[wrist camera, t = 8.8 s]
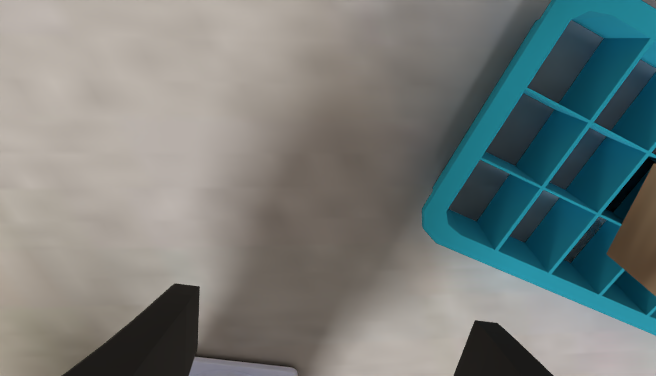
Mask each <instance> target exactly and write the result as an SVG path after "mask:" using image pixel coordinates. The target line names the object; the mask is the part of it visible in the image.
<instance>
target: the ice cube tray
mask: <svg viewBox="0 0 656 376" xmlns="http://www.w3.org/2000/svg"><path fill="white" fill-rule="evenodd" d="M571 20H572V21H574V22H576V23H578V24H580V25H581V26H583V27H585V28H587V29H588V30H590V31H592V32H594V33H595V34H597V35H599V36H601V37H602V38H604V39H603V40H602V42H601V43H600V45H599V46H598V47H597V49H596V50H595V52H594V53H593V55H592V56H591V57H590V59H589V60H588V62H587V63H586V65H585V66H584V68H583V69H582V70H581V72H580V73H579V75H578V76H577V78H576V79H575V81H574V82H573V83H572V85H571V86H570V88H569V89H568V91H567V92H566V94H565V95H564V96H563V98H562V99H561V101H560V102H559V104H558V103H556V102H554V101H552V100H550V99H548V98H546V97H545V96H543V95H541V94H539V93H537V92H535V91H533V90H531V89H529V88H527V87H528V85H529V84H530V82H531V81H532V79H533V78H534V76H535V75H536V73H537V71H538V70H539V68H540V67H541V65H542V64H543V62H544V61H545V59H546V58H547V56H548V55H549V53H550V51H551V50H552V48H553V47H554V45H555V44H556V42H557V41H558V39H559V38H560V36H561V35H562V33H563V32H564V30H565V28H566V27H567V25H568V24H569V22H570V21H571ZM640 59H641V60H642V61H644V62H646V63H648V64H649V65H651V66H653V67H655V68H656V9H655V8H653V7H652V6H650V5H648V4H647V3H645V2H643V1H642V0H551V2H550V4H549V5H548V7H547V8H546V10H545V12H544V13H543V15H542V16H541V18H540V19H539V20H537V21H535V23H534V25H533V26H532V28H531V30H530V31H529V33H528V34H527V36H526V38H525V39H524V41H523V42H522V44H521V46H520V47H519V49H518V51H517V52H516V54H515V55H514V57H513V59H512V60H511V62H510V63H509V65H508V67H507V68H506V70H505V72H504V73H503V75H502V76H501V78H500V80H499V81H498V83H497V84H496V86H495V88H494V89H493V91H492V92H491V94H490V96H489V97H488V99H487V101H486V102H485V104H484V105H483V107H482V109H481V110H480V112H479V113H478V115H477V117H476V118H475V120H474V122H473V123H472V125H471V126H470V128H469V130H468V131H467V133H466V134H465V136H464V138H463V139H462V141H461V143H460V144H459V146H458V147H457V149H456V151H455V152H454V154H453V155H452V157H451V159H450V160H449V162H448V163H447V165H446V167H445V168H444V170H443V172H442V173H441V175H440V176H439V178H438V180H437V181H436V183H435V184H434V186H433V192H432V193H431V195H430V196H429V198H428V200H427V201H426V203H425V204H424V206H423V208H422V227H423V229H424V230H425V231H426V232H427V233H428V235H429V236H430V237H431V238H432V239H433V240H434V241H435V242H436V243H437V244H439V245H442V246H444V247H447V248H449V249H451V250H454V251H456V252H458V253H461V254H463V255H466V256H468V257H470V258H473V259H475V260H477V261H480V262H482V263H485V264H487V265H489V266H492V267H494V268H496V269H499V270H501V271H504V272H506V273H508V274H511V275H513V276H515V277H518V278H520V279H523V280H525V281H527V282H530V283H532V284H534V285H537V286H539V287H542V288H544V289H546V290H549V291H551V292H554V293H556V294H558V295H561V296H563V297H565V298H568V299H570V300H573V301H575V302H577V303H580V304H582V305H584V306H587V307H589V308H592V309H594V310H596V311H599V312H601V313H603V314H606V315H608V316H611V317H613V318H615V319H618V320H620V321H622V322H625V323H627V324H630V325H632V326H634V327H637V328H639V329H641V330H644V331H646V332H649V333H651V334H653V335H656V296H655V295H654V294H652V293H651V292H650V291H649V290H648V289H647V288H645V287H644V286H643V285H642V284H641V283H640V282H638V281H637V280H636V279H635V278H634V277H632V276H631V275H630V274H629V273H628V272H627V271H625V270H624V269H623V268H622V267H621V266H620V265H618V264H617V263H616V262H615V261H614V260H612V259H611V258H610V257H609V256H608V255H607V254H606V253H607V251H608V250H609V248H610V246H611V244H612V242H613V240H614V238H615V236H616V234H617V232H618V231H619V229H620V227H621V225H622V223H623V221H624V219H625V217H626V215H627V213H628V211H629V210H630V208H631V206H632V204H633V202H634V200H635V198H636V196H637V194H638V192H639V191H640V189H641V187H642V185H643V183H644V181H645V179H646V177H647V175H648V173H649V172H650V170H651V168H652V167H651V168H650V169H649V170H648V172H647V173H646V174H645V175H644V176H643V178H642V179H641V180H640V181H639V182H638V183H637V185H636V186H635V187H634V188H633V189H632V191H631V192H630V193H629V194H628V195H627V197H626V198H625V199H624V200H623V201H622V203H621V204H620V205H619V206H618V207H617V209H616V210H615V211H614V212H610V211H608V210H606V207H607V206H608V205H609V204H610V202H611V201H612V200H613V199H614V198H615V196H616V195H617V194H618V193H619V192H620V190H621V189H622V188H623V187H624V186H625V184H626V183H627V182H628V181H629V179H630V178H631V177H632V176H633V175H634V173H635V172H636V171H637V170H638V169H639V167H640V166H641V165H642V164H643V163H644V161H645V160H646V159H647V158H649V159H651V160H653V161H654V162H655V164H656V155H655V154H653V153H652V152H653V150H654V149H655V148H656V72H655V74H654V75H653V76H652V78H651V79H650V80H649V81H648V83H647V84H646V85H645V87H644V88H643V89H642V91H641V92H640V93H639V95H638V96H637V97H636V98H635V100H634V101H633V102H632V104H631V105H630V106H629V108H628V109H627V110H626V112H625V113H624V114H623V115H622V117H621V118H620V119H619V121H618V122H617V123H616V125H615V126H614V127H613V128H612V130H611V131H609V130H607V129H606V128H604V127H602V126H600V125H598V124H596V123H594V121H595V120H596V118H597V117H598V116H599V114H600V113H601V112H602V110H603V109H604V108H605V106H606V105H607V104H608V102H609V101H610V100H611V98H612V97H613V95H614V94H615V93H616V91H617V90H618V89H619V87H620V86H621V85H622V83H623V82H624V81H625V79H626V78H627V77H628V75H629V74H630V73H631V71H632V70H633V69H634V67H635V66H636V64H637V63H638V62H639V60H640ZM523 93H524V94H526V95H528V96H530V97H532V98H534V99H535V100H537V101H539V102H541V103H543V104H545V105H547V106H549V107H551V108H553V109H554V111H553V112H552V114H551V115H550V117H549V118H548V120H547V121H546V122H545V124H544V125H543V127H542V128H541V130H540V131H539V133H538V134H537V135H536V137H535V138H534V140H533V141H532V143H531V144H530V146H529V147H528V148H527V150H526V151H525V153H524V154H523V156H522V157H521V159H520V160H519V161H518V163H517V164H516V166H515V165H513V164H510V163H508V162H506V161H504V160H502V159H500V158H498V157H496V156H494V155H492V154H490V153H488V152H485V151H486V150H487V148H488V147H489V145H490V144H491V142H492V140H493V139H494V137H495V136H496V134H497V133H498V131H499V130H500V128H501V127H502V125H503V124H504V122H505V121H506V119H507V117H508V116H509V114H510V113H511V111H512V110H513V108H514V107H515V105H516V104H517V102H518V101H519V99H520V98H521V96H522V94H523ZM589 128H591V129H593V130H595V131H597V132H599V133H601V134H603V135H605V136H606V138H605V139H604V140H603V142H602V143H601V144H600V145H599V147H598V148H597V149H596V151H595V152H594V153H593V155H592V156H591V157H590V159H589V160H588V161H587V162H586V164H585V165H584V166H583V168H582V169H581V170H580V172H579V173H578V174H577V176H576V177H575V178H574V179H573V181H572V182H571V183H570V185H569V186H568V187H567V189H566V190H565V189H563V188H560V187H558V186H556V185H554V184H552V183H550V180H551V179H552V178H553V176H554V175H555V174H556V172H557V171H558V170H559V168H560V167H561V166H562V164H563V163H564V162H565V160H566V159H567V157H568V156H569V155H570V153H571V152H572V151H573V149H574V148H575V147H576V145H577V144H578V143H579V141H580V140H581V139H582V137H583V136H584V135H585V133H586V132H587V131H588V129H589ZM479 160H482V161H484V162H486V163H488V164H490V165H492V166H494V167H496V168H499V169H501V170H503V171H505V172H507V173H509V176H508V177H507V179H506V180H505V182H504V183H503V185H502V186H501V187H500V189H499V190H498V192H497V193H496V195H495V196H494V198H493V199H492V200H491V202H490V203H489V205H488V206H487V208H486V209H485V210H484V212H483V213H482V215H481V216H480V218H479V219H478V221H474V220H472V219H470V218H468V217H465V216H463V215H461V214H459V213H456V212H454V211H452V210H450V209H448V208H449V206H450V205H451V203H452V202H453V200H454V199H455V197H456V196H457V194H458V193H459V191H460V190H461V188H462V187H463V185H464V183H465V182H466V180H467V179H468V177H469V176H470V174H471V173H472V171H473V170H474V168H475V167H476V165H477V164H478V162H479ZM543 190H545V191H547V192H549V193H551V194H553V195H555V196H558V197H560V198H559V199H558V200H557V202H556V203H555V204H554V206H553V207H552V208H551V210H550V211H549V212H548V213H547V215H546V216H545V217H544V219H543V220H542V221H541V223H540V224H539V225H538V227H537V228H536V229H535V230H534V232H533V233H532V234H531V236H530V237H529V238H528V240H527V241H526V242H525V243H524V242H522V241H520V240H517V239H515V238H513V237H511V236H510V234H511V233H512V232H513V230H514V229H515V228H516V226H517V225H518V224H519V222H520V221H521V220H522V218H523V217H524V215H525V214H526V213H527V211H528V210H529V209H530V207H531V206H532V205H533V203H534V202H535V201H536V199H537V198H538V197H539V195H540V194H541V193H542V191H543ZM599 216H600V217H602V218H604V219H606V220H607V221H606V222H605V223H604V224H603V225H602V226H601V228H600V229H599V230H598V231H597V232H596V234H595V235H594V236H593V237H592V238H591V240H590V241H589V242H588V243H587V244H586V246H585V247H584V248H583V249H582V250H581V252H580V253H579V254H578V255H577V256H576V258H575V259H574V260H573V261H572V262H571V263H570V262H567V261H565V260H563V259H564V258H565V257H566V256H567V255H568V253H569V252H570V251H571V250H572V248H573V247H574V246H575V245H576V244H577V242H578V241H579V240H580V239H581V238H582V236H583V235H584V234H585V233H586V232H587V230H588V229H589V228H590V227H591V225H592V224H593V223H594V222H595V221H596V219H597V218H598V217H599ZM622 273H623V274H622ZM621 274H622V275H621ZM620 275H621V276H620ZM619 276H620V277H619ZM618 277H619V278H618ZM617 278H618V279H617Z"/></svg>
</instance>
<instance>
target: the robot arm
mask: <svg viewBox="0 0 656 376" xmlns="http://www.w3.org/2000/svg"><path fill="white" fill-rule="evenodd" d="M199 289H200V287H199V286H191V285H183V284H174V285H172V286H171V287H170V288H169V289H168V290H166V291H165V292H164V293H163V294H162V295H161V296H160V297H159V298H157V299H156V300H155V301H154V302H153V303H152V304H151V305H150V306H148V307H147V308H146V309H145V310H144V311H143V312H142V313H140V314H139V315H138V316H137V317H136V318H135V319H134V320H132V321H131V322H130V323H129V324H128V325H126V326H125V327H124V328H123V329H121V330H120V331H119V332H118V333H117V334H115V335H114V336H113V337H112V338H111V339H109V340H108V341H107V342H106V343H104V344H103V345H102V346H101V347H99V348H98V349H97V350H95V351H94V352H93V353H91V354H90V355H89V356H87V357H86V358H85V359H83V360H82V361H81V362H80V363H78V364H77V365H76V366H74V367H73V368H72V369H70V370H69V371H68V372H66V373H65V374H63V375H62V376H298V373H297V371H296V369H294V368H291V367H284V366H274V365H265V364H256V363H247V362H238V361H229V360H220V359H211V358H202V357H195V354H196V351H197V345H198V317H199ZM454 376H553V375H552V374H551V373H550V372H549V371H548V370H547V369H546V368H545V367H544V366H543V365H542V364H541V363H540V362H539V361H538V360H537V359H536V358H534V357H533V356H532V355H531V354H530V353H529V352H528V351H527V350H526V349H525V348H524V347H523V346H522V345H521V344H520V343H519V342H518V341H517V340H516V339H515V338H513V337H512V336H511V335H510V334H509V333H508V332H507V331H506V330H505V329H504V328H502V327H501V326H500V325H499V324H498V323H493V322H484V321H476V320H475V322H474V324H473V327H472V329H471V332H470V335H469V337H468V340H467V342H466V345H465V347H464V350H463V353H462V355H461V358H460V360H459V363H458V366H457V368H456V371H455V373H454Z"/></svg>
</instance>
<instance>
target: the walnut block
mask: <svg viewBox="0 0 656 376" xmlns="http://www.w3.org/2000/svg"><path fill="white" fill-rule="evenodd" d="M606 254H607V255H608V256H609V257H610V258H611V259H612V260H614V261H615V262H616V263H617V264H618V265H620V266H621V267H622V268H623V269H624V270H625V271H627V272H628V273H629V274H630V275H631V276H632V277H634V278H635V279H636V280H637V281H638V282H640V283H641V284H642V285H643V286H644V287H645V288H647V289H648V290H649V291H650V292H651V293H652V294H654V295H655V296H656V164H655V163H654V164H653V166H652V168H651V170H650V172H649V173H648V175H647V177H646V179H645V181H644V183H643V185H642V187H641V189H640V191H639V192H638V194H637V196H636V198H635V200H634V202H633V204H632V206H631V208H630V210H629V211H628V213H627V215H626V217H625V219H624V221H623V223H622V225H621V227H620V229H619V231H618V232H617V234H616V236H615V238H614V240H613V242H612V244H611V246H610V248H609V250H608V251H607V253H606Z"/></svg>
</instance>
